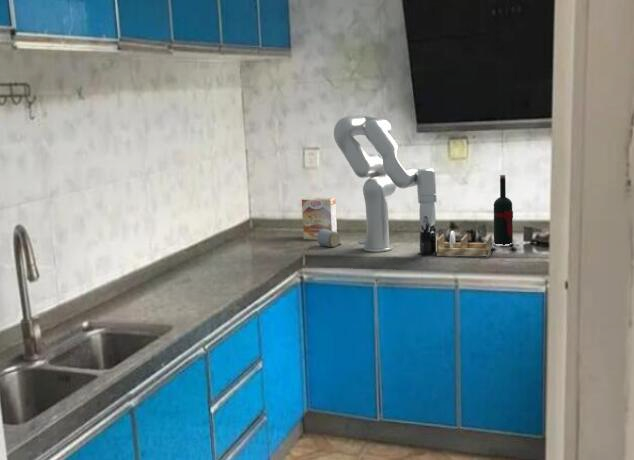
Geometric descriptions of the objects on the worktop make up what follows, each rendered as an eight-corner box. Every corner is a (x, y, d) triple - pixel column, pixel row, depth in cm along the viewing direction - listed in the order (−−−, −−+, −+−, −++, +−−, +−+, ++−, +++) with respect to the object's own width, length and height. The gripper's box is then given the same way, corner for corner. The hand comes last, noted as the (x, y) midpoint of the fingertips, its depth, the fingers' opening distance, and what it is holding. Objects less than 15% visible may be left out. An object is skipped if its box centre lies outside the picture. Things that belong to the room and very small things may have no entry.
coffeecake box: (303, 239, 344) (300, 199, 340) (309, 236, 350) (306, 197, 347) (332, 240, 338) (330, 199, 335) (337, 237, 345) (335, 197, 341)
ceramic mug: (329, 249, 318) (329, 232, 317) (317, 247, 324) (316, 230, 323) (346, 245, 326) (345, 228, 324) (333, 243, 332) (333, 227, 330)
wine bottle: (502, 248, 300) (502, 177, 295) (490, 244, 310) (489, 175, 305) (519, 246, 302) (518, 175, 297) (506, 242, 312) (506, 173, 307)
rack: (437, 255, 293) (436, 239, 292) (442, 249, 304) (442, 234, 303) (487, 257, 286) (487, 240, 285) (491, 250, 297) (491, 234, 295)
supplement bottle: (417, 254, 298) (416, 226, 296) (423, 250, 304) (422, 223, 302) (433, 255, 295) (432, 226, 293) (438, 251, 301) (437, 223, 299)
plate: (449, 253, 293) (449, 232, 291) (453, 249, 301) (453, 228, 299) (451, 253, 292) (451, 232, 291) (455, 249, 300) (455, 228, 299)
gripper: (422, 196, 305) (425, 235, 307) (413, 202, 289) (415, 243, 291) (440, 195, 302) (442, 235, 304) (431, 201, 286) (434, 243, 289)
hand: (429, 239), depth 298 cm, fingers open, 9 cm apart
